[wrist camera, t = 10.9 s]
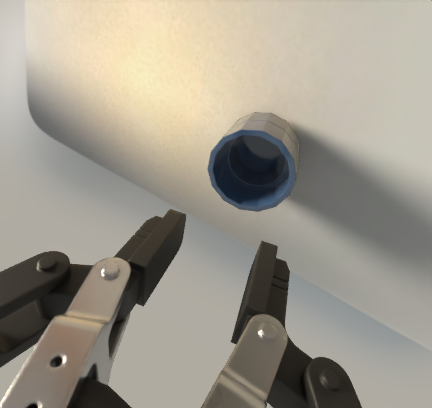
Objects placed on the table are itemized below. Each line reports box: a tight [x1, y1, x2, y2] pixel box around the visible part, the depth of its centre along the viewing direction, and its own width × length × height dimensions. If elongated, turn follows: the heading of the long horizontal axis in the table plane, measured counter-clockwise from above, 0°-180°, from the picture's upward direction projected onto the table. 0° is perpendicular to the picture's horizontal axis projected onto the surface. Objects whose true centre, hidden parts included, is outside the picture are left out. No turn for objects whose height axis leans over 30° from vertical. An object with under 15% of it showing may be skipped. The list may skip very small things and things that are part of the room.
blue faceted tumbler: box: [208, 112, 299, 211], centre depth 21 cm, size 6×6×6 cm
